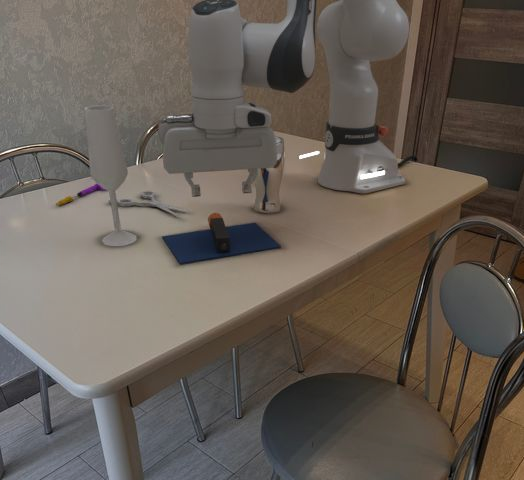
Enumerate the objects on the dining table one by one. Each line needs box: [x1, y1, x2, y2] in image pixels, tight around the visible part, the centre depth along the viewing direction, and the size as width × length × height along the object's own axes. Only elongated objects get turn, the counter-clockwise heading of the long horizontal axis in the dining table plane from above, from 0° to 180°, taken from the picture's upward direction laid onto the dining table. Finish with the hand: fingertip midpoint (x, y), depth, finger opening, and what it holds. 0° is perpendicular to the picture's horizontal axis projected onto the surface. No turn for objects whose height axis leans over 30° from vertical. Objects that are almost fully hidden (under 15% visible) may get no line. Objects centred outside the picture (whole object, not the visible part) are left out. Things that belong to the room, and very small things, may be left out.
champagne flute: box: [84, 104, 137, 247], centre depth 98 cm, size 7×7×24 cm
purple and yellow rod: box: [55, 183, 106, 206], centre depth 125 cm, size 3×1×16 cm
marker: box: [207, 212, 230, 253], centre depth 103 cm, size 14×3×3 cm, turn 11°
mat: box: [161, 222, 282, 265], centre depth 104 cm, size 20×13×1 cm, turn 113°
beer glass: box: [253, 135, 285, 214], centre depth 116 cm, size 7×7×15 cm
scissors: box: [108, 190, 190, 218], centre depth 120 cm, size 11×1×20 cm
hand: (221, 194), depth 98 cm, fingers open, 8 cm apart
